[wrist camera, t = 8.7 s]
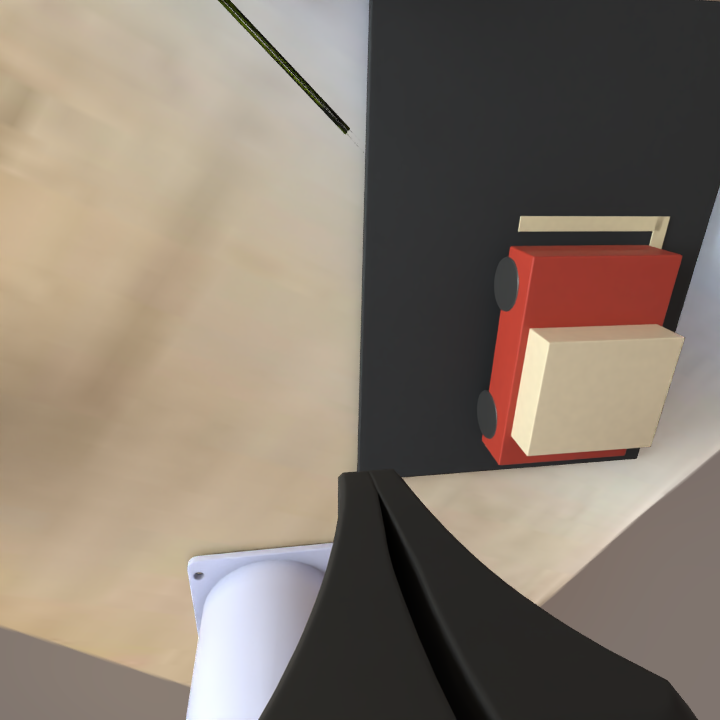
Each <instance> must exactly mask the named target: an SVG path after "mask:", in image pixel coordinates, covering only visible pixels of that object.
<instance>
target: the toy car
mask: <svg viewBox="0 0 720 720" xmlns="http://www.w3.org/2000/svg"><path fill="white" fill-rule="evenodd" d="M681 260H682V255H680V254H677V253H673V252H670V251H666V250H663V249H659V248H656V247H652V246H649V245H584V246H511V247H510V251H509V256H507V257H505V258H503V259H502V260H501V261H500V263H499V264H498V267H497V269H496V273H495V280H494V292H495V298H496V302H497V304H498V306H499V308H500V309H501V312H500V319H499V326H498V333H497V340H496V347H495V353H494V360H493V367H492V374H491V381H490V388H489V390H484V391H482V392H481V393H480V395H479V398H478V403H477V418H478V423H479V427H480V430H481V432H482V434H483V435H482V441H483V443H484V444H485V446H486V447H487V449H488V450H489V451H490V453H491V454H492V456H493V457H494V459H495V460H496V462H497V463H498V465H510V464H523V463H535V462H548V461H561V460H574V459H586V458H599V457H612V456H624V455H625V453H626V449H629V448H642V447H651V444H652V441H653V438H654V435H655V432H656V429H657V425H658V422H659V419H660V416H661V413H662V409H663V406H664V403H665V400H666V397H667V393H668V390H669V387H670V384H671V381H672V378H673V374H674V371H675V368H676V365H677V362H678V358H679V355H680V352H681V349H682V346H683V342H684V339H685V338H684V337H683V336H681V335H679V334H676V333H674V332H672V331H670V330H668V329H666V328H664V327H662V326H663V322H664V319H665V315H666V312H667V308H668V305H669V301H670V298H671V295H672V291H673V288H674V284H675V281H676V277H677V274H678V270H679V267H680V264H681Z"/></svg>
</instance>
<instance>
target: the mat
mask: <svg viewBox="0 0 720 720" xmlns="http://www.w3.org/2000/svg"><path fill="white" fill-rule="evenodd" d="M719 186H720V2H719V1H706V0H369V35H368V74H367V113H366V152H365V191H364V230H363V269H362V308H361V347H360V385H359V424H358V463H357V472H359V471H372V470H385V469H394V470H395V471H396V472H397V473H398V474H399V475H400V477H412V476H425V475H437V474H450V473H462V472H475V471H487V470H500V469H513V468H525V467H538V466H550V465H563V464H575V463H588V462H601V461H613V460H626V459H636V458H637V456H638V453H639V449H640V448H629V449H626V453H625V455H624V456H612V457H599V458H586V459H574V460H561V461H548V462H535V463H523V464H510V465H498V463H497V462H496V460H495V459H494V457H493V456H492V454H491V453H490V451H489V450H488V449H487V447H486V446H485V444H484V443H483V441H482V435H483V434H482V432H481V430H480V427H479V423H478V418H477V403H478V398H479V395H480V393H481V392H482V391H484V390H489V388H490V381H491V374H492V367H493V360H494V353H495V347H496V340H497V333H498V326H499V319H500V312H501V309H500V308H499V306H498V304H497V302H496V298H495V292H494V280H495V273H496V269H497V267H498V264H499V263H500V261H501V260H502V259H503V258H505V257H507V256H509V251H510V247H511V246H584V245H649V246H652V247H656V248H659V249H663V250H666V251H670V252H673V253H677V254H680V255H682V260H681V264H680V267H679V270H678V274H677V277H676V281H675V284H674V288H673V291H672V295H671V298H670V301H669V305H668V308H667V312H666V315H665V319H664V322H663V326H662V327H664V328H666V329H668V330H670V331H672V332H674V333H675V331H676V328H677V324H678V321H679V318H680V314H681V311H682V308H683V305H684V301H685V298H686V295H687V291H688V288H689V285H690V281H691V278H692V275H693V272H694V268H695V265H696V262H697V258H698V255H699V252H700V249H701V245H702V242H703V239H704V235H705V232H706V229H707V225H708V222H709V219H710V216H711V212H712V209H713V206H714V202H715V199H716V196H717V193H718V189H719Z"/></svg>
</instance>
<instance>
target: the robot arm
mask: <svg viewBox="0 0 720 720" xmlns="http://www.w3.org/2000/svg"><path fill="white" fill-rule="evenodd" d="M197 572H201V573H202V574H198V573H197ZM188 575H189V582H190V588H191V594H192V600H193V606H194V613H195V619H196V625H197V631H198V637H199V639H198V645H197V651H196V658H195V664H194V671H193V677H192V684H191V691H190V697H189V703H188V709H187V716H186V720H698V719H697V718H696V716H695V715H694V713H693V712H692V711H691V709H690V708H689V706H688V705H687V704H686V703H685V701H684V700H683V699H682V698H681V696H680V695H679V694H678V693H677V691H676V690H675V689H674V688H673V686H672V685H671V684H670V683H669V682H668V681H667V680H666V679H664V678H662V677H660V676H658V675H656V674H654V673H652V672H650V671H648V670H646V669H644V668H643V667H641V666H639V665H637V664H635V663H633V662H631V661H629V660H627V659H625V658H623V657H621V656H619V655H617V654H615V653H613V652H612V651H609V650H608V649H606V648H604V647H603V646H601V645H599V644H598V643H596V642H594V641H592V640H591V639H589V638H587V637H586V636H584V635H582V634H581V633H579V632H577V631H575V630H574V629H572V628H570V627H569V626H567V625H566V624H564V623H563V622H561V621H559V620H558V619H556V618H555V617H553V616H552V615H550V614H549V613H548V612H546V611H544V610H543V609H541V608H540V607H539V606H537V605H536V604H534V603H533V602H532V601H530V600H529V599H527V598H526V597H524V596H523V595H522V594H520V593H519V592H517V591H516V590H515V589H513V588H512V587H511V586H509V585H508V584H507V583H506V582H504V581H503V580H502V579H501V578H499V577H498V576H497V575H496V574H495V573H493V572H492V571H491V570H490V569H488V568H487V567H486V566H485V565H484V564H483V563H482V562H480V561H479V560H478V559H477V558H476V557H475V556H474V555H473V554H472V553H471V552H469V551H468V550H467V549H466V548H465V547H464V546H463V545H462V544H461V543H460V542H459V541H458V540H457V539H456V538H455V537H454V536H453V535H452V534H451V533H450V532H449V531H448V530H447V529H446V528H445V527H444V526H443V525H442V524H441V523H440V522H439V521H438V519H437V518H436V517H435V516H434V515H433V514H432V513H431V512H430V511H429V510H428V509H427V508H426V506H425V505H424V504H423V503H422V502H421V501H420V499H419V498H418V497H417V496H416V495H415V494H414V492H413V491H412V490H411V489H410V488H409V486H408V485H407V484H406V483H405V481H404V480H403V479H402V478H401V477H400V475H399V474H398V473H397V472H396V471H395V470H394V469H385V470H372V471H359V472H346V473H342V474H341V475H340V476H339V477H338V521H337V527H336V532H335V537H334V542H333V543H324V544H314V545H304V546H293V547H283V548H273V549H263V550H253V551H242V552H232V553H222V554H212V555H201V556H195V557H193V558H191V559H190V560H189V563H188Z"/></svg>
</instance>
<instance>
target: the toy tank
mask: <svg viewBox="0 0 720 720" xmlns="http://www.w3.org/2000/svg"><path fill="white" fill-rule="evenodd" d="M218 1H219V2H220V3H221V4H222V5H223V6H224V7H225V8H226V9H227V10H228V11H229V12H230V13H231V15H232V16H233V17H234V18H235V19H236V20H237V21H238V22H239V23H240V24H241V25H242V26H243V27H244V28H245V29H246V30H247V31H248V32H249V34H250V35H251V36H252V37H253V38H254V39H255V40H256V41H257V42H258V43H259V44H260V45H261V46H262V47H263V48H264V49H265V50H266V51H267V52H268V54H269V55H270V56H271V57H272V58H273V59H274V60H275V61H276V62H277V63H278V64H279V65H280V66H281V67H282V68H283V69H284V70H285V71H286V72H287V74H288V75H289V76H290V77H291V78H292V79H293V80H294V81H295V82H296V83H297V84H298V85H299V86H300V87H301V88H302V89H303V90H304V91H305V92H306V94H307V95H308V96H309V97H310V98H311V99H312V100H313V101H314V102H315V103H316V104H317V105H318V106H319V107H320V108H321V109H322V110H323V111H324V113H325V114H326V115H327V116H328V117H329V118H330V119H331V120H332V121H333V122H334V123H335V124H336V125H337V126H338V127H339V128H340V129H341V130H342V131H343V133H344V134H346V133H347V131H346V130H345V128H343V126H345V127H346V128H347V130H350V128H349V127H348V126H347V125H346V124H345V122H344V121H343V120H342V119H341V118H340V117H339V116H338V115H337V114H336V113H335V112H334V111H333V110H332V109H331V108H330V107H329V105H328V104H327V103H326V102H325V101H324V100H323V99H322V98H321V97H320V96H319V95H318V94H317V93H316V92H315V91H314V89H313V88H312V87H311V86H310V85H309V84H308V83H307V82H306V81H305V80H304V79H303V78H302V77H301V76H300V75H299V73H298V72H297V71H296V70H295V69H294V68H293V67H292V66H291V65H290V64H289V63H288V62H287V61H286V60H285V59H284V57H283V56H282V55H281V54H280V53H279V52H278V51H277V50H276V49H275V48H274V47H273V46H272V45H271V44H270V43H269V42H268V40H267V39H266V38H265V37H264V36H263V35H262V34H261V33H260V32H259V31H258V30H257V29H256V28H255V27H254V26H253V24H252V23H251V22H250V21H249V20H248V19H247V18H246V17H245V16H244V15H243V14H242V13H241V12H240V11H239V10H238V8H237V7H236V6H235V5H234V4H233V3H232V2H231V1H230V0H224V1H223V0H218ZM224 2H225V3H226V4H227V5H228V6H229V7H230V8H231V9H232V10H233V11H235V12H236V13H237V14H238V15H239V17H240V18H241V19H242V21H243V22H244V23H245V24H246V25H247V26H248V27H249V28H250V29H252V30H253V31H254V32H255V33H256V34H257V35H258V37H259V38H260V39H261V41H262V42H263V43H264V44H265V45H266V46H267V47H268V48H270V49H271V50H272V51H273V53H274V54H275V55H276V56H277V57H276V56H275V55H274V54H273V53H272V52H271V51H270V50H269V49H268V48H267V47H266V46H265V45H264V44H263V43H262V42H261V41H260V39H259V38H258V37H257V36H256V35H255V34H254V33H253V32H252V31H251V30H250V29H249V28H248V27H247V26H246V25H245V24H244V23H243V22H242V21H241V20H240V18H239V17H238V16H237V15H236V14H235V13H234V12H233V11H232V10H231V9H230V8H229V7H228V6H227V5H226V4H225V3H224ZM253 28H254V29H253ZM267 43H268V44H269V45H270V46H269V45H268V44H267ZM279 57H280V58H279ZM278 58H279V59H280V60H279V59H278ZM283 60H284V61H285V62H284V61H283ZM281 62H282V63H283V64H284V65H285V66H287V67H288V69H289V70H290V71H291V72H292V73H293V74H294V75H293V74H292V73H291V72H290V71H289V70H288V69H287V68H286V67H285V66H284V65H283V64H282V63H281ZM296 75H297V76H296ZM295 76H296V77H297V78H298V79H299V80H298V79H297V78H296V77H295ZM300 78H301V79H300ZM301 83H302V84H303V85H304V86H305V87H306V88H307V89H308V90H309V91H310V92H311V93H310V92H309V91H308V90H307V89H306V88H305V87H304V86H303V85H302V84H301ZM312 92H313V93H314V95H315V96H316V97H317V99H316V98H315V97H314V96H313V95H312ZM322 105H323V106H324V107H325V108H326V109H327V110H326V109H325V108H324V107H323V106H322ZM328 109H329V110H330V111H331V113H332V114H333V115H331V114H330V113H329V112H328ZM350 131H351V130H350ZM356 145H357V144H356ZM357 146H358V145H357Z"/></svg>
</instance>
